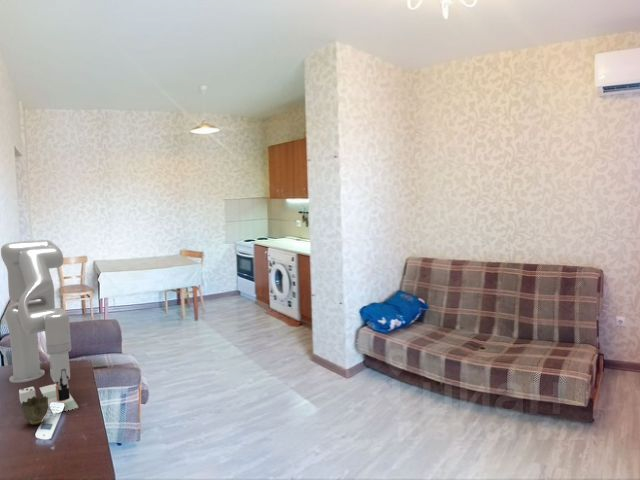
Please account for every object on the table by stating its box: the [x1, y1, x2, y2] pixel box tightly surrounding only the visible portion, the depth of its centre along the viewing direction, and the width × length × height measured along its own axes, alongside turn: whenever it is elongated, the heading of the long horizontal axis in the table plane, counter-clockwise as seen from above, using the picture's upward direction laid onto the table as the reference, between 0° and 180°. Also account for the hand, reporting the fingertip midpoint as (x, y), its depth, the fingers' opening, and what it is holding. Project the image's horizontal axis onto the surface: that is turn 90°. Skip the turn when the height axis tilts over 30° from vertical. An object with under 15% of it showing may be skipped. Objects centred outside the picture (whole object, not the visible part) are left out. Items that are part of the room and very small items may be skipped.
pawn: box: [56, 382, 71, 401], centre depth 156 cm, size 4×4×6 cm
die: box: [18, 386, 37, 406], centre depth 163 cm, size 4×4×5 cm
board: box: [39, 383, 79, 412], centre depth 165 cm, size 30×8×1 cm, turn 40°
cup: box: [20, 395, 49, 426], centre depth 146 cm, size 8×7×8 cm
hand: (63, 396), depth 156 cm, fingers closed on pawn, 4 cm apart
